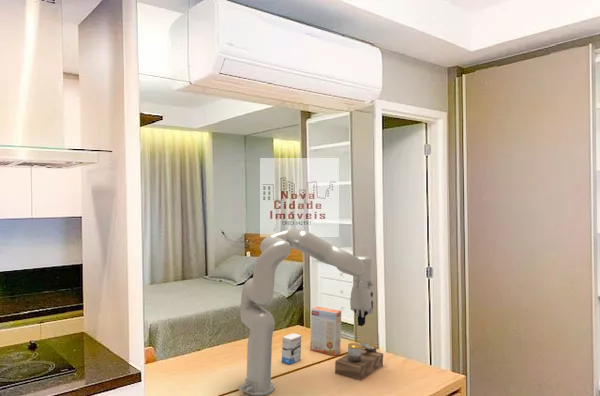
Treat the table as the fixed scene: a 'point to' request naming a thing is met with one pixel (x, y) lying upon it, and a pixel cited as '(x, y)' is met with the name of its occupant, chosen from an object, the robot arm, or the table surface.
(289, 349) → the ink box
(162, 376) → the table surface
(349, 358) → the gold-lidded jar
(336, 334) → the cracker box
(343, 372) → the block
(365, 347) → the keeper bar
